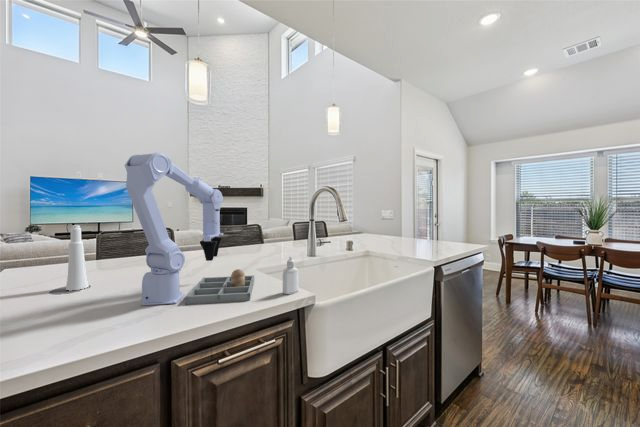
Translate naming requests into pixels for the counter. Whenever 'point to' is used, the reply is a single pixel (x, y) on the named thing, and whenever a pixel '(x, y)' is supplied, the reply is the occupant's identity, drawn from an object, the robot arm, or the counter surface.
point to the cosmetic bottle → (76, 262)
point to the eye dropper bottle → (290, 278)
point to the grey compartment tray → (220, 291)
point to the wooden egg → (237, 278)
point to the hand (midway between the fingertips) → (211, 258)
